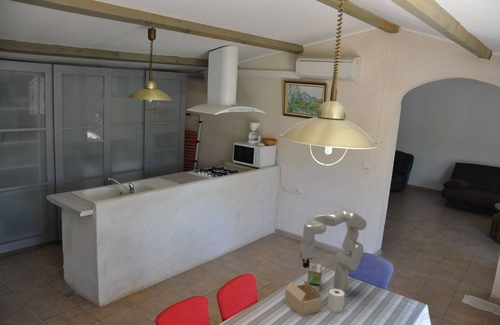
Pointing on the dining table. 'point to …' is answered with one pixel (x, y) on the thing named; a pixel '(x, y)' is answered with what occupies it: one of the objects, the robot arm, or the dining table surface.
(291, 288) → the flap
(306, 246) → the robot arm
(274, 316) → the dining table surface
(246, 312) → the dining table surface
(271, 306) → the dining table surface
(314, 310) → the carton
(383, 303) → the dining table surface
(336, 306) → the toilet paper
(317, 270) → the tea box
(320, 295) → the flap
